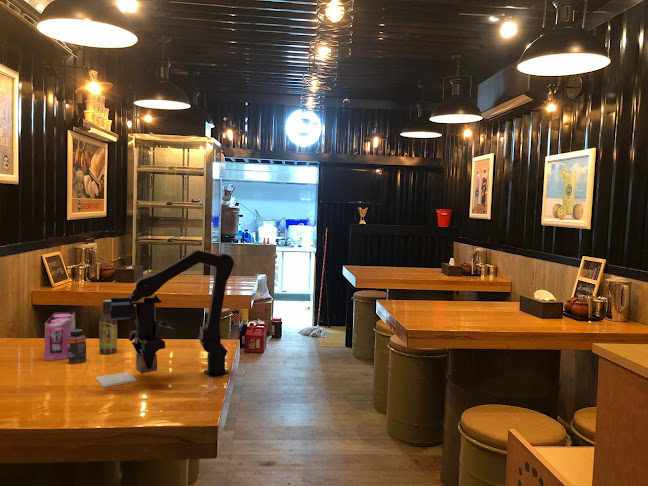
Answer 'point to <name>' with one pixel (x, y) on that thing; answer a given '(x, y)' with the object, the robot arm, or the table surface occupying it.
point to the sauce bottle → (107, 330)
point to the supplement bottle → (76, 346)
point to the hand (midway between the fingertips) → (146, 366)
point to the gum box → (58, 335)
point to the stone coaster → (116, 379)
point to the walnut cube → (142, 366)
